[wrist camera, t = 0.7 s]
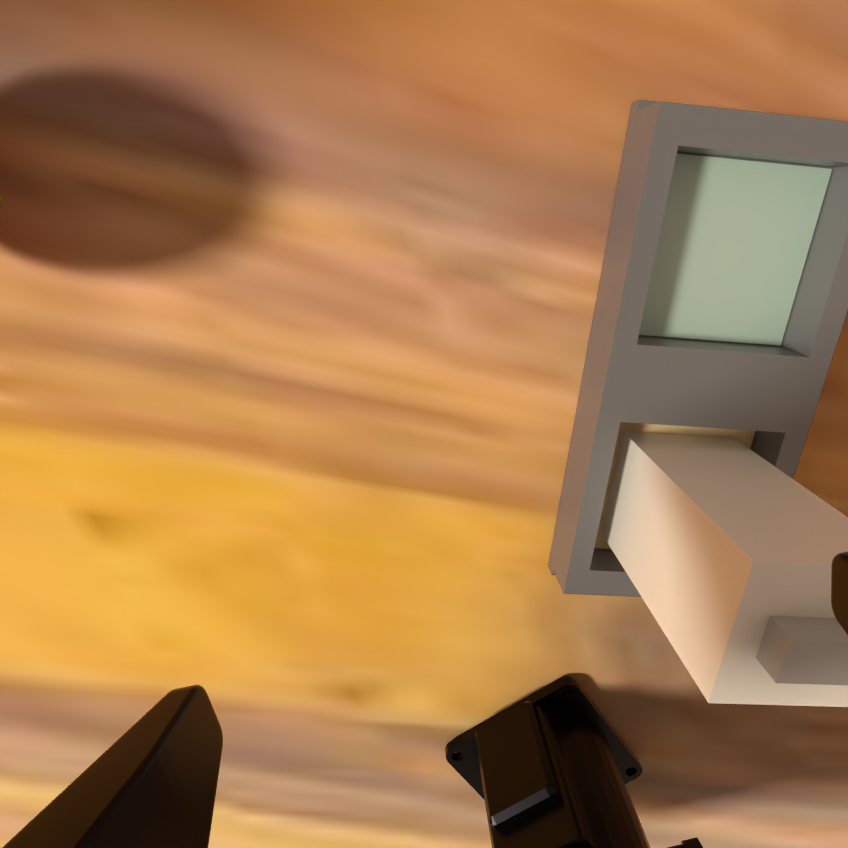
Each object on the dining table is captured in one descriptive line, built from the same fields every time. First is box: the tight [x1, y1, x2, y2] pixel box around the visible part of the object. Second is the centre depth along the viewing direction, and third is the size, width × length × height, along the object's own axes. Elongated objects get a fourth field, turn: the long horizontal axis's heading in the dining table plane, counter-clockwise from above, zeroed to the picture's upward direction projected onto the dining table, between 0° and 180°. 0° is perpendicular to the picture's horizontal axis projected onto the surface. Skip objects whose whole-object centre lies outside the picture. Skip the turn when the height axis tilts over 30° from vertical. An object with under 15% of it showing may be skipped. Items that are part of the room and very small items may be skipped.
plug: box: [601, 431, 848, 707], centre depth 17 cm, size 4×4×9 cm
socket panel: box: [548, 100, 848, 597], centre depth 20 cm, size 16×7×2 cm, turn 175°
